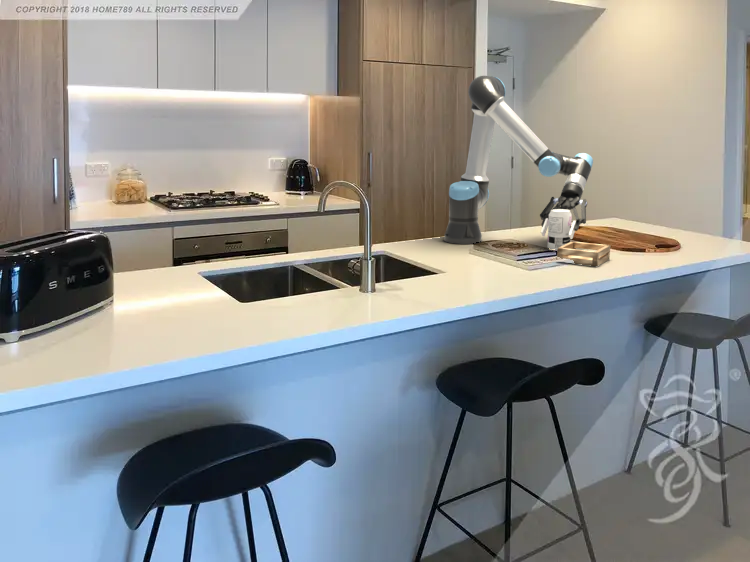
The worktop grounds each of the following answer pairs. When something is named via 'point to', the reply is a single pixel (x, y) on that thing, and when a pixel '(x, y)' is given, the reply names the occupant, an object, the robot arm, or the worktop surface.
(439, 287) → the worktop surface
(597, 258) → the crate
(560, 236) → the supplement can
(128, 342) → the worktop surface
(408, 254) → the worktop surface
